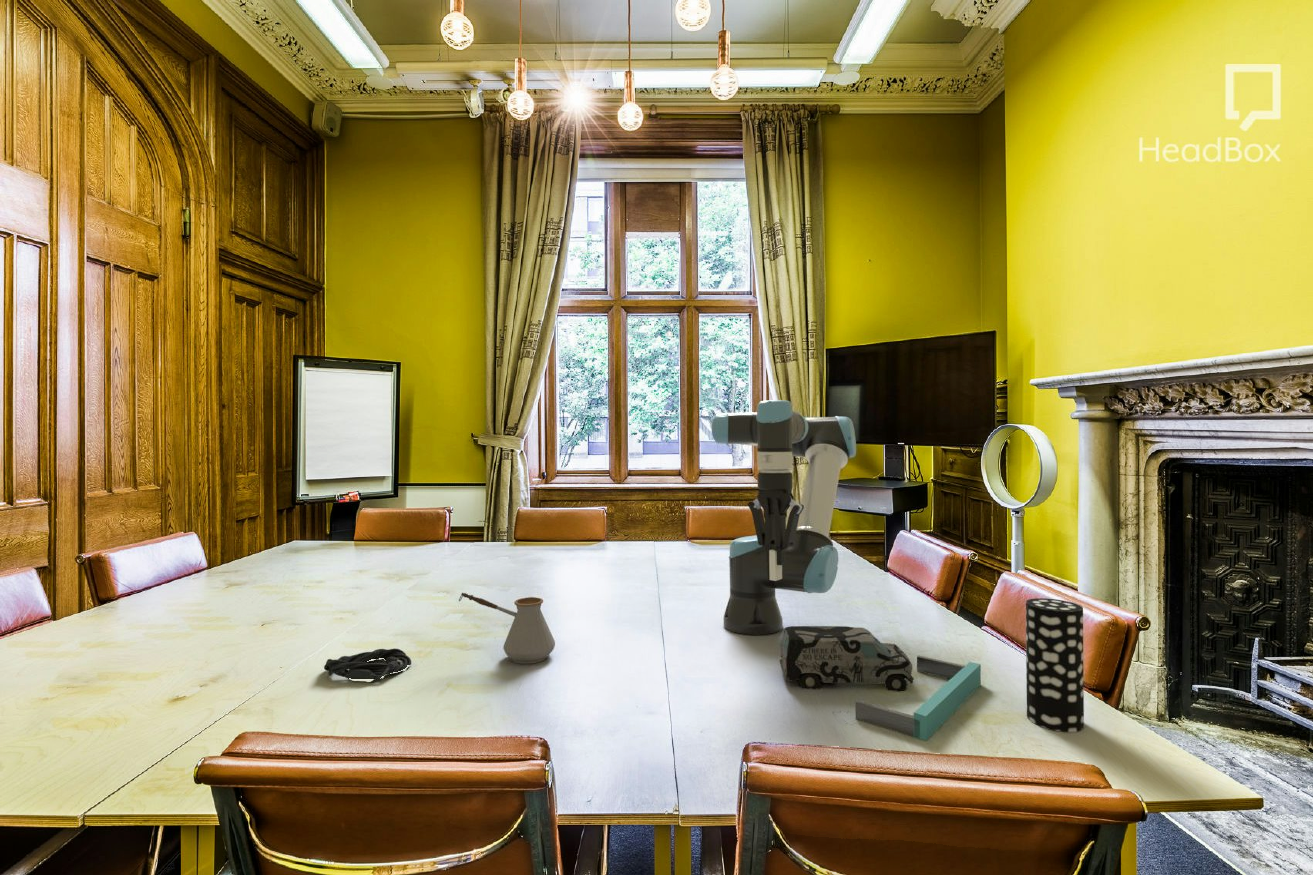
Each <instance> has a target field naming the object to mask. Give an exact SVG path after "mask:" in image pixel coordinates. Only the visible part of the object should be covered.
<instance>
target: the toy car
mask: <svg viewBox="0 0 1313 875" xmlns="http://www.w3.org/2000/svg"><path fill="white" fill-rule="evenodd" d="M780 652H781V653H780V658H781V659H779V664H780V667H781V670H782V673H783V677H784V680H785V681H786V682H796V683H797V682H798V680H799V682H798V683H799V685H800V687H801V688H802V689H804V690H805V689H807V690H820V688H821V687H822V683H827V684H829V683H831V684H884V685H885V688H886V690H887V691H889V692H898V693H899V692H900V693H901V692H905V691H906V690H907V688H908V683H907V682H909V683H910V684H914V680H915V679H914V676H913V675H912V673H913V663H912V661H911V660H910V657H908V655H907V654H906V653H905V652H904V651H903V650H902V649H901V648H900V647H899V646H898V645H897V644H895V643H885V642H881V641H880V640H878V638H876V637H875V636H874V634H873V633H872V632H870V630H868V629H867V628H864V627H853V626H847V625H845V626H844V625H842V626H841V625H840V626H839V625H838V626H837V625H802V626H801V625H798V626H797V625H793V626H791V625H790V626H786V627H784V629H783V634H782V639H781V642H780ZM821 682H822V683H821Z"/></svg>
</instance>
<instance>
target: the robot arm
mask: <svg viewBox="0 0 1313 875" xmlns="http://www.w3.org/2000/svg"><path fill="white" fill-rule="evenodd" d="M792 406H793V405H792V402H791V401H789V400H778V399H777V400H776V399H775V400H761V401H759V403H758V404H757V409H756V411H755V412H724V413H723V412H722V413H716V414H715V415H714V416H713V418H712V421H711V435H712V438H713V440H714V442H716V443H717V444H721V445H722V444H724V445H744V446H745V445H746V446H754V447H757V451H756V452H757V454H756V455H757V456H756V457H757V470H760V472H758V473H757V488H758V493H757V495H756V498H755V499H754V500H753V501H748V504H747V506H748V507H749V510H750V511H751V515H752V520H753V524H754V529H755V535H750V536H749V535H748V536H742V537H738V538H735V539H734V540H732V541H731V542H730V544H729V556H728V559H729V562H728V564H729V566H728V567H729V598H728V601H727V603H726V604H727V605H726V608H725V611H724V614H723V627H724V629H726V630H728V631H730V632H733V633H736V634H740V635H742V634H743V635H750V636H752V635H753V636H754V635H755V636H759V635H761V636H762V635H770V634H775V633H777V632H780V631H782V629H783V627H784V626H783V624H784V623H783V616H782V613H781V610H780V607H779V603H778V601H777V600H778V599H777V598H776V590H784V591H794V592H802V593H807V594H825V593H827V592H828V591H830V590H831V589H832V587H833V585H834V584H835V580H836V579H837V574H838V567H839V566H838V565H839V552H838V550H837V547H835V546H834V542H833V540H832V539H831V538H830V531H831V530H830V529H831V525H832V520H833V514H834V507H835V503H836V502H835V501H836V498H837V497H836V496H837V491H838V486H839V485H838V484H839V479H840V473H841V469H843V468H844V467H845V466H846V465H847V464H848V461H849V458H850V459H852V458H855V457H856V455H857V442H856V440H857V439H856V434H855V432H856V431H855V427H854V422H853V421H852V419H851V418H850V417H848V416H838V415H835V416H811V417H810V416H808V417H805V416H804V415H803V414H800V413H799V412H798V411H795V410H793V408H792ZM793 457H797V458H805V460H806V461H807V462H808V464H807V465H808V467H807V471H806V476H805V480H804V485H803V490H802V495H801V499H800V504H799V503H798V502H797V501H796V500H795V497H794V494H793V492H792V491H793V484H794V483H793V480H794V479H793V473H792V472H790V471H792V470H793ZM762 509H763V510H762ZM788 510H789V511H790V512H789V514H788ZM787 517H788V518H787ZM786 518H787V519H786ZM786 521H787V522H786Z"/></svg>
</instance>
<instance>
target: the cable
mask: <svg viewBox="0 0 1313 875" xmlns="http://www.w3.org/2000/svg"><path fill="white" fill-rule="evenodd" d="M379 658H384V659H385V660H386V661H387V662H386V661H385V662H386V663H382V662H381V663H379V662H378V663H377V662H375V663H373V662H367V661H369V660H371V659H378V660H379ZM411 659H412V658H411V657H409V656H408V655H407V654H406V652H404V650H402V649H399V648H389V649H385V648H378V649H374V650H373V651H364V652H360V653H356V654H353V655H342V656H340V657H339V658H338V659H332V658H328V659H326V662H325V664H324V666H323V668H324V671H328V675H335V676H339V677H342V678H346V679H347V678H348V679H349V678H351V679H380V678H381V677H382V676H384V675H385V676H386V674H390V673H393V672H398V671H401V670H403V669H405V668H406V667H407V665H412V660H411ZM348 679H347V680H348Z"/></svg>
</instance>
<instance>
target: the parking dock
mask: <svg viewBox="0 0 1313 875" xmlns="http://www.w3.org/2000/svg"><path fill="white" fill-rule="evenodd" d="M981 669H982V666H981V663H976V662H972V661H969V662H968V663H967V664H965V665H963V664H958V663H955V662H950V661H945V660H942V659H936V658H931V657H928V656H923V655H920V654H919V655H917V656H916V671H917V672H920V673H923V674H928V675H931V676H936V677H939V678H945V679H949V680H947V682H946V683H944V684H943V685H942V686H941V687H939V689H938V690H937V691H936V692H935V693H933V694H932V695H931V696H930V697H928V699H927V700H926V701H924V703H922V704H921V705H920V706H918V708H917V709H915V711H914V712H913V715H912V714H908V713H905V712H902V711H897V710H894V709H891V708H888V707H885V706H881V705H878V704H873V703H871V702H867V701H863V700H861V699H857V700H855V702H854V703H855V719H856V720H858V721H862V722H865V723H868V724H872V725H874V726H878V727H881V728H884V729H887V730H891V731H893V732H897V733H900V734H903V735H907V736H910V737H913V738H915V739H919V740H922V741H927V740H929V738H930V737H931V736H932V735H933V734H935V732H937V731H938V730H939V728H941V726H943V724H944V723H945V722H946V721H948V719H949V718H950V717H951V716H952V715H953V714H954V713H955V712H956V711H957V710H958V709H959V708H960V707H961V706H962V705H963V704H964V703H965V701H967V700H968V698H970V697H971V696H972V694H974V692H975V691H977V689H978V688H979V687H980V686H981V685H982V680H981V679H982V676H981V675H982V672H981V671H982V670H981Z"/></svg>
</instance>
